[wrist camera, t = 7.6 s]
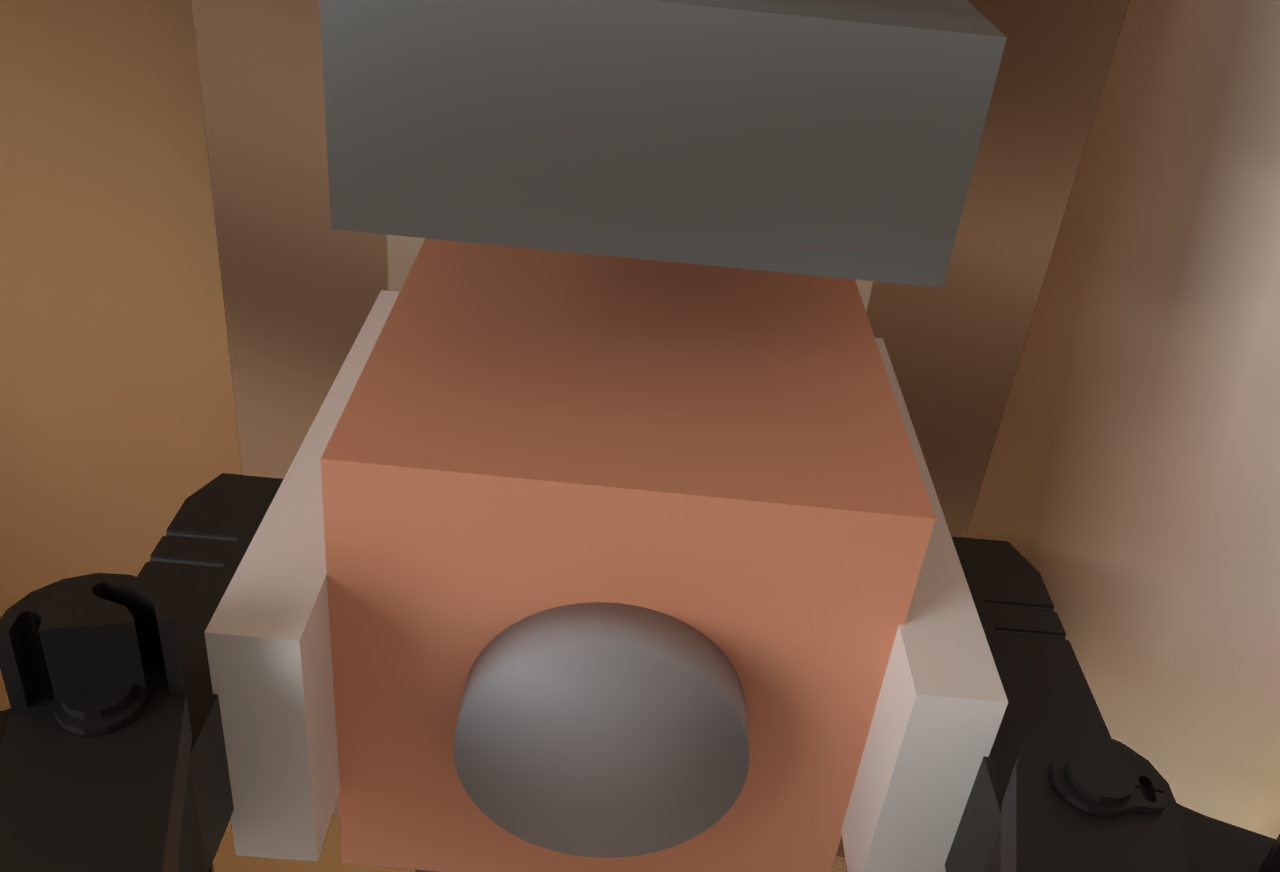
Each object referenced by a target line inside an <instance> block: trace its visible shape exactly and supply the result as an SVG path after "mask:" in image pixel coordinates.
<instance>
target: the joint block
mask: <svg viewBox="0 0 1280 872" xmlns="http://www.w3.org/2000/svg"><path fill="white" fill-rule="evenodd" d="M321 475H322V494H323V514H324V533H325V552H326V571H327V590H328V608H329V623H330V639H331V654H332V670H333V686H334V701H335V717H336V732H337V748H338V763H339V779H340V792H339V796H338V801H339V820H340V839H341V858H342V863H344V864H356V865H367V866H379V867H391V868H403V869H414V870H426V871H438V872H831V870H832V867H833V864H834V860H835V857H836V854H837V850H838V847H839V843H840V840H841V837H842V833H841V829H842V826H843V822H844V819H845V815H846V811H847V808H848V804H849V801H850V797H851V794H852V790H853V786H854V783H855V779H856V776H857V772H858V769H859V765H860V762H861V758H862V754H863V751H864V747H865V744H866V740H867V737H868V733H869V729H870V726H871V722H872V719H873V715H874V712H875V708H876V704H877V701H878V697H879V694H880V690H881V687H882V683H883V680H884V676H885V672H886V669H887V665H888V662H889V658H890V655H891V651H892V647H893V644H894V640H895V637H896V633H897V630H898V626H899V624H900V625H904V624H905V621H906V617H907V614H908V611H909V607H910V604H911V600H912V597H913V594H914V590H915V587H916V584H917V580H918V577H919V573H920V570H921V567H922V563H923V560H924V557H925V553H926V550H927V546H928V543H929V540H930V536H931V533H932V530H933V526H934V523H935V519H936V518H935V515H934V512H933V509H932V506H931V503H930V500H929V498H928V495H927V492H926V489H925V486H924V483H923V480H922V477H921V474H920V471H919V468H918V465H917V462H916V459H915V456H914V453H913V450H912V447H911V444H910V441H909V438H908V435H907V432H906V429H905V426H904V423H903V420H902V417H901V414H900V411H899V408H898V405H897V402H896V399H895V396H894V394H893V391H892V388H891V385H890V382H889V379H888V376H887V373H886V370H885V367H884V364H883V361H882V358H881V355H880V352H879V349H878V346H877V343H876V340H875V337H874V334H873V331H872V328H871V325H870V322H869V319H868V316H867V313H866V310H865V307H864V304H863V301H862V298H861V295H860V292H859V290H858V287H857V284H856V281H855V279H846V278H835V277H825V276H814V275H804V274H793V273H783V272H773V271H762V270H752V269H741V268H731V267H720V266H710V265H699V264H689V263H679V262H668V261H658V260H647V259H637V258H626V257H616V256H605V255H595V254H585V253H574V252H564V251H553V250H543V249H532V248H522V247H512V246H501V245H491V244H480V243H470V242H459V241H449V240H438V239H428V238H425V240H424V242H423V244H422V246H421V248H420V251H419V253H418V255H417V257H416V259H415V261H414V263H413V265H412V267H411V270H410V272H409V274H408V276H407V278H406V280H405V282H404V284H403V286H402V288H401V291H400V293H399V295H398V297H397V299H396V301H395V303H394V305H393V307H392V310H391V312H390V314H389V316H388V318H387V320H386V322H385V324H384V326H383V328H382V331H381V333H380V335H379V337H378V339H377V341H376V343H375V345H374V347H373V350H372V352H371V354H370V356H369V358H368V360H367V362H366V364H365V366H364V369H363V371H362V373H361V375H360V377H359V379H358V381H357V383H356V385H355V387H354V390H353V392H352V394H351V396H350V398H349V400H348V402H347V404H346V406H345V409H344V411H343V413H342V415H341V417H340V419H339V421H338V423H337V425H336V427H335V430H334V432H333V434H332V436H331V438H330V440H329V442H328V444H327V446H326V449H325V451H324V453H323V455H322V457H321Z"/></svg>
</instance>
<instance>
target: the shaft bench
mask: <svg viewBox="0 0 1280 872" xmlns="http://www.w3.org/2000/svg"><path fill="white" fill-rule="evenodd" d="M191 2H192V12H193V21H194V30H195V39H196V48H197V58H198V67H199V76H200V85H201V94H202V104H203V113H204V122H205V131H206V141H207V150H208V159H209V168H210V177H211V187H212V196H213V205H214V214H215V224H216V233H217V242H218V251H219V260H220V270H221V279H222V288H223V297H224V306H225V316H226V325H227V334H228V343H229V353H230V362H231V371H232V380H233V389H234V399H235V408H236V417H237V426H238V435H239V445H240V454H241V463H242V472H243V475H247V476H258V477H269V478H281V479H284V477H285V475H286V473H287V472H288V470H289V468H290V466H291V464H292V462H293V460H294V458H295V456H296V454H297V452H298V450H299V448H300V446H301V444H302V443H303V441H304V439H305V437H306V435H307V433H308V431H309V429H310V427H311V425H312V423H313V421H314V419H315V417H316V415H317V414H318V412H319V410H320V408H321V406H322V404H323V402H324V400H325V398H326V396H327V394H328V392H329V390H330V388H331V386H332V384H333V383H334V381H335V379H336V377H337V375H338V373H339V371H340V369H341V367H342V365H343V363H344V361H345V359H346V357H347V355H348V354H349V352H350V350H351V348H352V346H353V344H354V342H355V340H356V338H357V336H358V334H359V332H360V330H361V328H362V326H363V325H364V323H365V321H366V319H367V317H368V315H369V313H370V311H371V309H372V307H373V305H374V303H375V301H376V299H377V297H378V295H379V294H380V292H381V290H385V291H395V292H400V291H401V288H402V286H403V284H404V282H405V280H406V278H407V276H408V274H409V272H410V270H411V267H412V265H413V263H414V261H415V259H416V257H417V255H418V253H419V251H420V248H421V246H422V244H423V242H424V240H425V238H428V239H438V240H449V241H459V242H470V243H480V244H491V245H501V246H512V247H522V248H532V249H543V250H553V251H564V252H574V253H585V254H595V255H605V256H616V257H626V258H637V259H647V260H658V261H668V262H679V263H689V264H699V265H710V266H720V267H731V268H741V269H752V270H762V271H773V272H783V273H793V274H804V275H814V276H825V277H835V278H846V279H855V281H856V284H857V287H858V290H859V292H860V295H861V298H862V301H863V304H864V307H865V310H866V313H867V316H868V319H869V322H870V325H871V328H872V331H873V334H874V337H875V338H883V340H884V343H885V346H886V349H887V352H888V355H889V357H890V360H891V363H892V366H893V369H894V372H895V375H896V378H897V381H898V384H899V386H900V389H901V392H902V395H903V398H904V401H905V404H906V407H907V410H908V413H909V415H910V418H911V421H912V424H913V427H914V430H915V433H916V436H917V439H918V442H919V445H920V447H921V450H922V453H923V456H924V459H925V462H926V465H927V468H928V471H929V474H930V476H931V479H932V482H933V485H934V488H935V491H936V494H937V497H938V500H939V503H940V505H941V508H942V511H943V514H944V517H945V520H946V523H947V526H948V529H949V532H950V534H951V536H952V537H963V538H965V536H966V533H967V530H968V526H969V523H970V520H971V517H972V513H973V510H974V507H975V504H976V500H977V497H978V494H979V490H980V487H981V484H982V481H983V477H984V474H985V471H986V468H987V464H988V461H989V458H990V454H991V451H992V448H993V445H994V441H995V438H996V435H997V432H998V428H999V425H1000V422H1001V419H1002V415H1003V412H1004V409H1005V405H1006V402H1007V399H1008V396H1009V392H1010V389H1011V386H1012V383H1013V379H1014V376H1015V373H1016V370H1017V366H1018V363H1019V360H1020V356H1021V353H1022V350H1023V347H1024V343H1025V340H1026V337H1027V334H1028V330H1029V327H1030V324H1031V320H1032V317H1033V314H1034V311H1035V307H1036V304H1037V301H1038V298H1039V294H1040V291H1041V288H1042V285H1043V281H1044V278H1045V275H1046V271H1047V268H1048V265H1049V262H1050V258H1051V255H1052V252H1053V249H1054V245H1055V242H1056V239H1057V235H1058V232H1059V229H1060V226H1061V222H1062V219H1063V216H1064V213H1065V209H1066V206H1067V203H1068V200H1069V196H1070V193H1071V190H1072V186H1073V183H1074V180H1075V177H1076V173H1077V170H1078V167H1079V164H1080V160H1081V157H1082V154H1083V151H1084V147H1085V144H1086V141H1087V137H1088V134H1089V131H1090V128H1091V124H1092V121H1093V118H1094V115H1095V111H1096V108H1097V105H1098V102H1099V98H1100V95H1101V92H1102V88H1103V85H1104V82H1105V79H1106V75H1107V72H1108V69H1109V66H1110V62H1111V59H1112V56H1113V52H1114V49H1115V46H1116V43H1117V39H1118V36H1119V33H1120V30H1121V26H1122V23H1123V20H1124V17H1125V13H1126V10H1127V7H1128V3H1129V0H191ZM332 816H337V817H339V801H338V799H337V802H336V805H335V808H334V812H333V815H332ZM836 856H842V857H845V853H844V846H843V840H842V837H841V840H840V843H839V847H838V850H837V854H836ZM416 872H438V871H426V870H416Z"/></svg>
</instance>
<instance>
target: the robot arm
mask: <svg viewBox="0 0 1280 872" xmlns="http://www.w3.org/2000/svg"><path fill="white" fill-rule="evenodd" d="M399 293H400V292H395V291H385V290H381V292H380V294H379V295H378V297H377V299H376V301H375V303H374V305H373V307H372V309H371V311H370V313H369V315H368V317H367V319H366V321H365V323H364V325H363V326H362V328H361V330H360V332H359V334H358V336H357V338H356V340H355V342H354V344H353V346H352V348H351V350H350V352H349V354H348V355H347V357H346V359H345V361H344V363H343V365H342V367H341V369H340V371H339V373H338V375H337V377H336V379H335V381H334V383H333V384H332V386H331V388H330V390H329V392H328V394H327V396H326V398H325V400H324V402H323V404H322V406H321V408H320V410H319V412H318V414H317V415H316V417H315V419H314V421H313V423H312V425H311V427H310V429H309V431H308V433H307V435H306V437H305V439H304V441H303V443H302V444H301V446H300V448H299V450H298V452H297V454H296V456H295V458H294V460H293V462H292V464H291V466H290V468H289V470H288V472H287V473H286V475H285V477H284V479H281V478H269V477H258V476H247V475H236V474H225V473H222V474H221V475H219V476H218V477H217V478H215V479H214V480H212V481H211V482H209V483H208V484H207V485H205V486H204V487H202V488H201V489H199V490H198V491H197V492H195V493H194V494H192V495H191V496H189V497H188V498H187V499H186V500H185V502H184V503H183V505H182V506H181V508H180V510H179V511H178V513H177V514H176V516H175V517H174V519H173V521H172V522H171V524H170V525H169V527H168V529H167V534H166V536H163V537H162V538H161V540H160V541H159V543H158V544H157V546H156V548H155V549H154V551H153V552H152V554H151V559H150V562H146V564H145V565H144V567H143V568H142V570H141V571H140V573H139V575H138V576H137V577H134V576H132V575H125V574H105V573H95V574H90V575H84V576H78V577H73V578H67V579H62V580H60V581H58V582H55V583H53V584H50V585H48V586H45V587H43V588H40V589H38V590H35V591H33V592H31V593H29V594H28V595H27V596H25V597H24V598H23V599H21V600H20V601H19V602H17V603H16V604H15V605H13V606H12V607H10V608H9V609H8V610H6V611H5V613H4V614H3V616H2V617H1V619H0V668H1V672H2V676H3V680H4V683H5V687H6V691H7V694H8V698H9V702H10V706H11V708H10V709H7V710H4V711H0V872H214V871H213V864H212V862H213V860H214V857H215V855H216V852H217V850H218V847H219V845H220V843H221V840H222V838H223V835H224V833H225V830H226V828H227V825H228V823H229V820H230V819H231V826H232V834H233V841H234V848H235V855H237V856H249V857H262V858H274V859H286V860H299V861H311V862H318V860H319V857H320V853H321V850H322V847H323V844H324V841H325V837H326V834H327V831H328V828H329V824H330V821H331V818H332V815H333V812H334V808H335V805H336V802H337V799H338V796H339V792H340V779H339V763H338V748H337V732H336V717H335V701H334V686H333V670H332V654H331V639H330V623H329V608H328V590H327V571H326V552H325V533H324V514H323V494H322V475H321V457H322V455H323V453H324V451H325V449H326V446H327V444H328V442H329V440H330V438H331V436H332V434H333V432H334V430H335V427H336V425H337V423H338V421H339V419H340V417H341V415H342V413H343V411H344V409H345V406H346V404H347V402H348V400H349V398H350V396H351V394H352V392H353V390H354V387H355V385H356V383H357V381H358V379H359V377H360V375H361V373H362V371H363V369H364V366H365V364H366V362H367V360H368V358H369V356H370V354H371V352H372V350H373V347H374V345H375V343H376V341H377V339H378V337H379V335H380V333H381V331H382V328H383V326H384V324H385V322H386V320H387V318H388V316H389V314H390V312H391V310H392V307H393V305H394V303H395V301H396V299H397V297H398V295H399ZM875 340H876V343H877V346H878V349H879V352H880V355H881V358H882V361H883V364H884V367H885V370H886V373H887V376H888V379H889V382H890V385H891V388H892V391H893V394H894V396H895V399H896V402H897V405H898V408H899V411H900V414H901V417H902V420H903V423H904V426H905V429H906V432H907V435H908V438H909V441H910V444H911V447H912V450H913V453H914V456H915V459H916V462H917V465H918V468H919V471H920V474H921V477H922V480H923V483H924V486H925V489H926V492H927V495H928V498H929V500H930V503H931V506H932V509H933V512H934V515H935V518H936V519H935V523H934V526H933V530H932V533H931V536H930V540H929V543H928V546H927V550H926V553H925V557H924V560H923V563H922V567H921V570H920V573H919V577H918V580H917V584H916V587H915V590H914V594H913V597H912V600H911V604H910V607H909V611H908V614H907V617H906V621H905V624H904V625H900V624H899V626H898V630H897V633H896V637H895V640H894V644H893V647H892V651H891V655H890V658H889V662H888V665H887V669H886V672H885V676H884V680H883V683H882V687H881V690H880V694H879V697H878V701H877V704H876V708H875V712H874V715H873V719H872V722H871V726H870V729H869V733H868V737H867V740H866V744H865V747H864V751H863V754H862V758H861V762H860V765H859V769H858V772H857V776H856V779H855V783H854V786H853V790H852V794H851V797H850V801H849V804H848V808H847V811H846V815H845V819H844V822H843V826H842V829H841V833H842V840H843V846H844V853H845V859H846V866H847V872H1280V834H1279V836H1278V838H1277V840H1276V839H1273V838H1270V837H1267V836H1264V835H1261V834H1258V833H1255V832H1252V831H1249V830H1246V829H1243V828H1240V827H1237V826H1234V825H1231V824H1228V823H1225V822H1222V821H1219V820H1216V819H1213V818H1210V817H1207V816H1205V815H1202V814H1200V813H1197V812H1195V811H1193V810H1190V809H1188V808H1185V807H1183V806H1181V805H1179V804H1178V803H1176V802H1175V799H1174V797H1173V794H1172V792H1171V789H1170V787H1169V784H1168V783H1167V782H1166V780H1165V779H1164V778H1163V777H1162V776H1161V775H1160V774H1159V772H1158V771H1157V770H1156V769H1155V768H1154V767H1153V766H1152V764H1151V763H1150V762H1149V761H1148V760H1146V759H1145V758H1143V757H1142V756H1140V755H1139V754H1138V753H1136V752H1135V751H1133V750H1132V749H1130V748H1129V747H1127V746H1126V745H1124V744H1123V743H1121V742H1119V741H1116V740H1114V739H1111V736H1110V734H1109V732H1108V729H1107V727H1106V725H1105V722H1104V720H1103V718H1102V716H1101V713H1100V711H1099V709H1098V706H1097V704H1096V702H1095V699H1094V697H1093V695H1092V693H1091V690H1090V688H1089V686H1088V683H1087V681H1086V679H1085V676H1084V674H1083V672H1082V670H1081V667H1080V665H1079V663H1078V660H1077V658H1076V656H1075V653H1074V651H1073V649H1072V646H1071V644H1070V642H1069V640H1066V639H1065V635H1066V633H1065V630H1064V628H1063V626H1062V623H1061V621H1060V619H1059V617H1058V614H1057V613H1055V612H1054V611H1053V608H1054V605H1053V603H1052V600H1051V598H1050V596H1049V594H1048V591H1047V589H1046V587H1045V584H1044V582H1043V580H1042V577H1041V575H1040V573H1039V572H1038V571H1037V570H1036V569H1035V568H1034V567H1033V566H1032V565H1031V564H1030V563H1029V562H1028V561H1027V560H1026V559H1025V558H1024V557H1023V556H1022V555H1021V554H1020V553H1019V552H1018V551H1017V550H1016V549H1015V548H1014V547H1013V546H1012V545H1011V544H1010V543H1009V542H1007V541H996V540H985V539H974V538H963V537H952V536H951V534H950V532H949V529H948V526H947V523H946V520H945V517H944V514H943V511H942V508H941V505H940V503H939V500H938V497H937V494H936V491H935V488H934V485H933V482H932V479H931V476H930V474H929V471H928V468H927V465H926V462H925V459H924V456H923V453H922V450H921V447H920V445H919V442H918V439H917V436H916V433H915V430H914V427H913V424H912V421H911V418H910V415H909V413H908V410H907V407H906V404H905V401H904V398H903V395H902V392H901V389H900V386H899V384H898V381H897V378H896V375H895V372H894V369H893V366H892V363H891V360H890V357H889V355H888V352H887V349H886V346H885V343H884V340H883V338H875Z"/></svg>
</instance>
